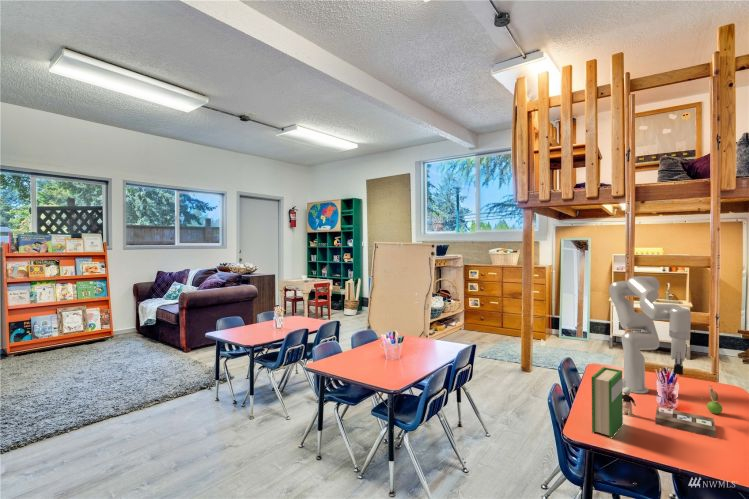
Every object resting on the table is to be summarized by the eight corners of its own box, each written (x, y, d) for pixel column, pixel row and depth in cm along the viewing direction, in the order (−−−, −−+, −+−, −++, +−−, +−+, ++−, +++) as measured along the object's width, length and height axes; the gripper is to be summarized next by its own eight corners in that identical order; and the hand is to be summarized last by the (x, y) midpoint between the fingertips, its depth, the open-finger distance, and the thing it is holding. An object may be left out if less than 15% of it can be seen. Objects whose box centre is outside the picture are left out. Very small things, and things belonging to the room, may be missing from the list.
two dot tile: (658, 416, 171) (658, 410, 170) (659, 412, 174) (659, 406, 174) (672, 419, 167) (672, 413, 167) (672, 415, 171) (672, 409, 171)
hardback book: (612, 438, 156) (611, 381, 156) (592, 432, 161) (591, 376, 161) (622, 424, 168) (622, 370, 168) (603, 418, 173) (603, 367, 173)
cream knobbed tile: (696, 428, 162) (696, 422, 162) (696, 424, 166) (695, 417, 166) (711, 431, 159) (711, 425, 159) (711, 427, 163) (711, 421, 163)
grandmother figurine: (637, 415, 177) (637, 388, 176) (635, 418, 174) (635, 390, 174) (618, 410, 182) (617, 384, 182) (616, 413, 179) (616, 386, 179)
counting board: (655, 424, 168) (655, 417, 168) (656, 412, 179) (656, 406, 179) (715, 437, 155) (715, 430, 155) (713, 425, 166) (713, 418, 166)
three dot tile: (677, 424, 166) (677, 418, 166) (677, 419, 170) (677, 414, 170) (691, 427, 163) (691, 421, 163) (691, 423, 167) (691, 417, 167)
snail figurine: (717, 410, 180) (717, 385, 180) (725, 416, 174) (724, 390, 174) (703, 409, 182) (703, 384, 182) (710, 414, 176) (710, 389, 175)
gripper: (669, 329, 182) (668, 367, 183) (668, 337, 170) (667, 376, 171) (690, 332, 177) (688, 370, 178) (690, 340, 165) (688, 381, 166)
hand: (678, 373), depth 175 cm, fingers closed
